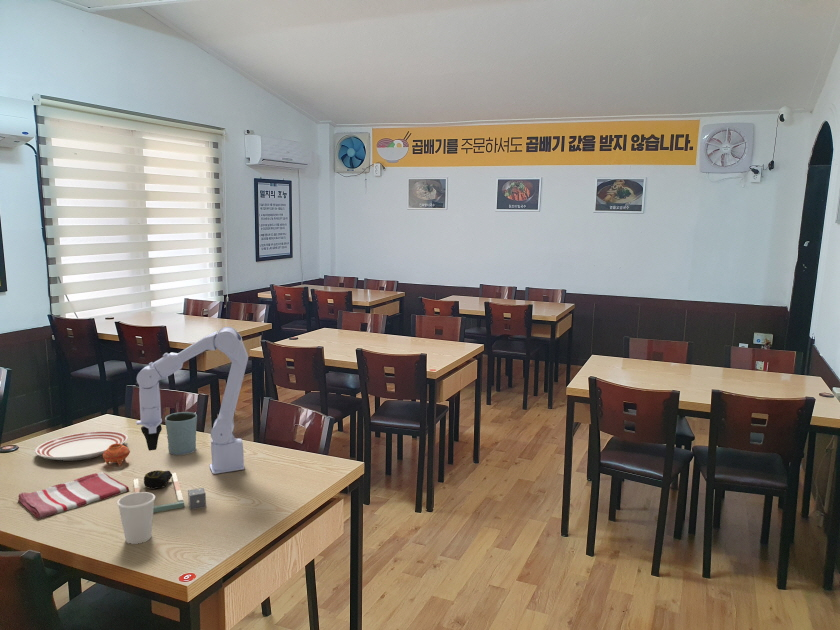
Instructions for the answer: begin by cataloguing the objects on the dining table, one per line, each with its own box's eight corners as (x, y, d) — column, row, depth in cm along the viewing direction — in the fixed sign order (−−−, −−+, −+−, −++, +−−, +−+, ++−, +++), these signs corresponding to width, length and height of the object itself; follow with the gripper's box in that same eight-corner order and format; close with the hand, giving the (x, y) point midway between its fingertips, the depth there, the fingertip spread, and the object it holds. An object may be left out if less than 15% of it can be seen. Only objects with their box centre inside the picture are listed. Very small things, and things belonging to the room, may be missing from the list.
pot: (136, 461, 200) (130, 443, 198) (112, 473, 195) (105, 455, 193) (127, 454, 206) (121, 436, 204) (102, 466, 201) (96, 447, 198)
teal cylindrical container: (187, 443, 218) (185, 410, 217) (204, 449, 212) (203, 415, 211) (160, 451, 210) (158, 417, 208) (178, 458, 204) (176, 422, 203)
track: (175, 476, 189) (175, 472, 189) (184, 507, 169) (184, 502, 169) (133, 483, 184) (133, 479, 184) (137, 515, 164) (136, 511, 163)
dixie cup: (149, 526, 158) (147, 488, 156) (162, 538, 152) (160, 499, 150) (114, 537, 152) (112, 498, 151) (126, 550, 146) (123, 509, 145)
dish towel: (16, 502, 172) (15, 493, 172) (104, 477, 190) (104, 469, 189) (39, 521, 161) (38, 511, 161) (130, 493, 179) (129, 484, 178)
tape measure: (165, 490, 180) (164, 478, 179) (140, 491, 179) (139, 478, 179) (172, 481, 186) (172, 469, 186) (149, 481, 186) (148, 469, 185)
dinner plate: (23, 452, 209) (22, 443, 209) (107, 433, 230) (106, 424, 229) (54, 474, 191) (53, 463, 191) (142, 450, 212) (142, 440, 211)
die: (204, 501, 173) (203, 487, 172) (206, 507, 169) (205, 493, 168) (188, 504, 171) (187, 490, 170) (190, 510, 167) (189, 495, 167)
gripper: (134, 401, 193) (137, 444, 195) (136, 414, 181) (139, 459, 182) (159, 399, 197) (161, 440, 198) (163, 411, 184) (165, 455, 186)
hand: (152, 449), depth 191 cm, fingers closed
